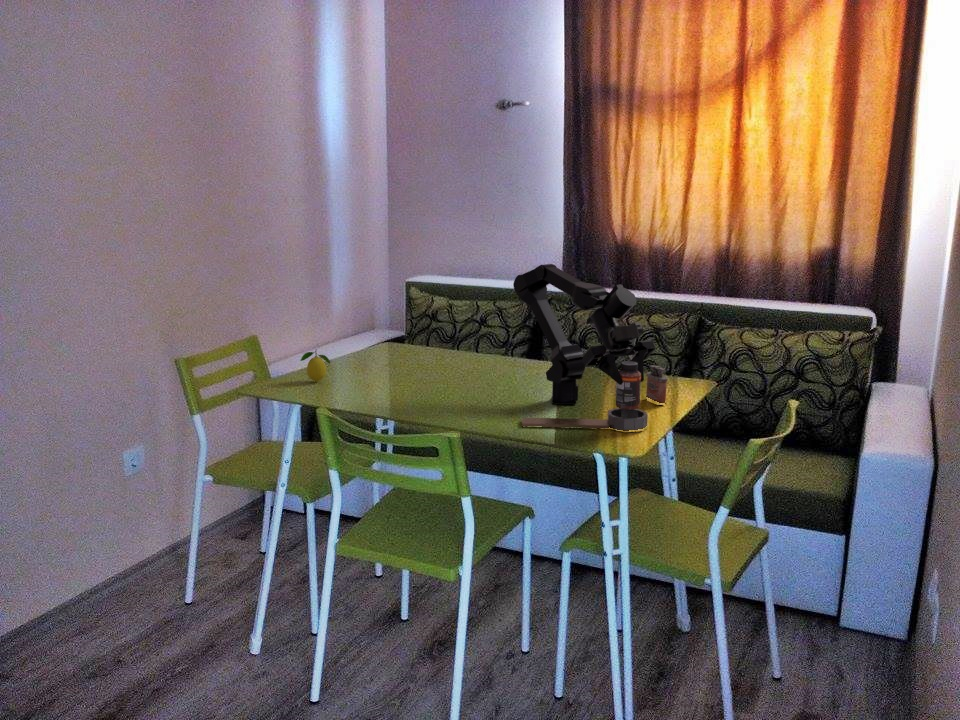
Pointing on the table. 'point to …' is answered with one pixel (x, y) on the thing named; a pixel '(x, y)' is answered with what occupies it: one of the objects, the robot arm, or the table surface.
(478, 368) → the table surface
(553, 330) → the robot arm
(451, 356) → the table surface
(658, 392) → the lighter
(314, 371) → the lemon
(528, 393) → the table surface
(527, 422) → the cup bracket
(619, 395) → the supplement bottle
